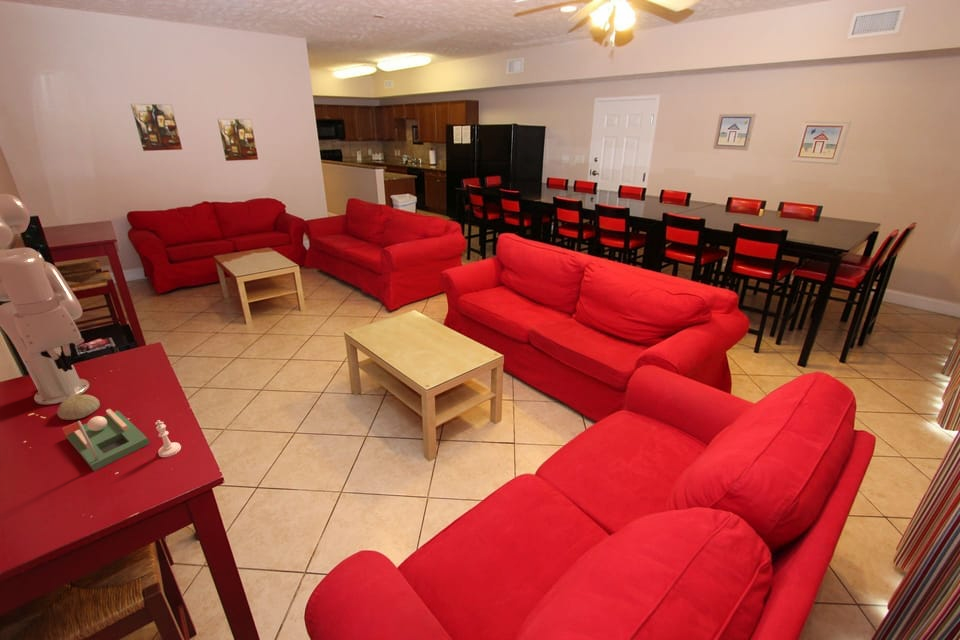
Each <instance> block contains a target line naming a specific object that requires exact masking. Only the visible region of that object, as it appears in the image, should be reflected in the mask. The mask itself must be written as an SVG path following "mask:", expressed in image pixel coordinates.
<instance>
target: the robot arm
mask: <svg viewBox="0 0 960 640" xmlns="http://www.w3.org/2000/svg"><path fill="white" fill-rule="evenodd" d="M30 220H31V216H30V212H29V209H28V208H27V206H26V205H25V203H24V202H23V201H22V200H21V199H20V198H18V197H17V196H15V195H12V194H9V193H0V302H5V303H1V304H0V328H2V330H3V331H4V333H5V334H6V335H7V336H8V338H9V339H10V341H11V343H12V344H13V345H14V347H15V349H16V351H17V352H18V355H19V357H20V359H21V360H22V362H23V365H25V368H26V370H27V372H28V374H29V377H30V378H31V379H32V382H33V383H34V385H35V387H36V389H37V392H36V393H35V394H34V397H33V399H34V401H35V402H36V404H39V405H44V406H45V405H47V406H48V405H55V404H59V403H60V404H61V403H62V402H64V401H65V400H66V399H68V398H71V397H73V396H78V395H83V394H84V393H85V392H86V391H87V390H88V389H89V388H90V383H89V381H88V380H87V379H84V378H80V377H79V375H78V372H77V370H76V368H75V366H74V365H75V364H74V361H73V359H72V357H71V355H72V354H71V353H72V352H73V350H74V349H75V347H77V346H79V345H81V344H83V343H84V342H85V339H84V338H83V336H82V334H81V332H80V331H79V330H80V329H79V328H78V326H77V324H76V323H75V321H76V320H78V319H79V318H81V317H82V316H83V308H82V306H81V304H80V301H79V300H78V298H77V296H76V295H75V294H74V292H73V291H72V289H71V287H70V286H69V284H68V282H67V281H66V280H65V278H64V277H63V275H62V274H61V272H60V270H58V269H57V266H55V265H54V264H52V263H50V262H48V261H45V258H44V257H43V255H42V254H41V252H39V251H37V250H35V249H33V248H31V247H15V248H10V249H5V248H6V247H7V246H9V245H10V244H11V243H12V241H13V239H14V235H16V234H17V235H18V234H22V233H24V232H26V231H27V229H28V226H29V224H30V222H31V221H30Z"/></svg>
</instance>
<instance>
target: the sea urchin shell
mask: <svg viewBox="0 0 960 640" xmlns="http://www.w3.org/2000/svg"><path fill="white" fill-rule="evenodd" d="M100 406H101V403H100V400H99V398H97V397H95V396H93V395H90V394H87V393H85V394H84V393H83V394H81V395H78V396H73V397H71V398H68V399H66V400H65V401H64V402H61V403H60V405H59V406H58V408H57V412H56V413H57V416H58V418H60V419H62V420H67V421H68V420H79V419H83V418H84V419H85V417H88V416H90V415H92V414H93V413H95V412H96V411H98V409H99V408H100Z"/></svg>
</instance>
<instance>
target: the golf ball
mask: <svg viewBox="0 0 960 640" xmlns="http://www.w3.org/2000/svg"><path fill="white" fill-rule="evenodd" d="M87 423H88V424H87V426H88V428H89V429H90V430H91V431H100V430H102V429H104V428H105V427H106V425H107V420H106V418H104V417H103V416H100V415H95V416H94V417H92V418H90V419H89V420H88V421H87Z"/></svg>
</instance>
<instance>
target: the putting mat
mask: <svg viewBox="0 0 960 640" xmlns="http://www.w3.org/2000/svg"><path fill="white" fill-rule="evenodd" d="M105 412H106V414H105V415H103V416H102V417H104V418H106V420H107V425H106V427H105V428H104V429H102V430H100V431H91V430H90V429H89V428H88V426H87V424H88V422H87V423H84V424H82V422H81V420H78V421H76V422H73V423H71V424H68V425H67V426H64V427H61V430H62V431H63V433H64V435H65V437H66V438H67V440H68V442H70V443H71V445H72V446H73V447H74V449H75V450H76V452H77V453H78V454H79V455H80V456H81V457H82V458H83V459H84V461H85V462H86V464H88V466H89V467H90V468H91V470H92V471H93V472H95V471H98V470H100V469H101V468H103V467H106V466H107V465H110V464H112V463H114V462H116V461H118V460H120V459H122V458H124V457H126V456H128V455H130V454H132V453H134V452H136V451H138V450H141V449H142V448H144V447H146V446H148V445H150V441H149V439H148V437H147V436H146V435H145V434H144V433H143V432H142V431H141V430H139V429H138V427H136V426H135V425H134V424H133V423H132V422H131V421H130V420H129V419H128V418H127V417H126V416H124V415H123V413H121V412H120V411H119V410H116V411H113V410H112V409H111V408H108V409H106V410H105Z"/></svg>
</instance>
